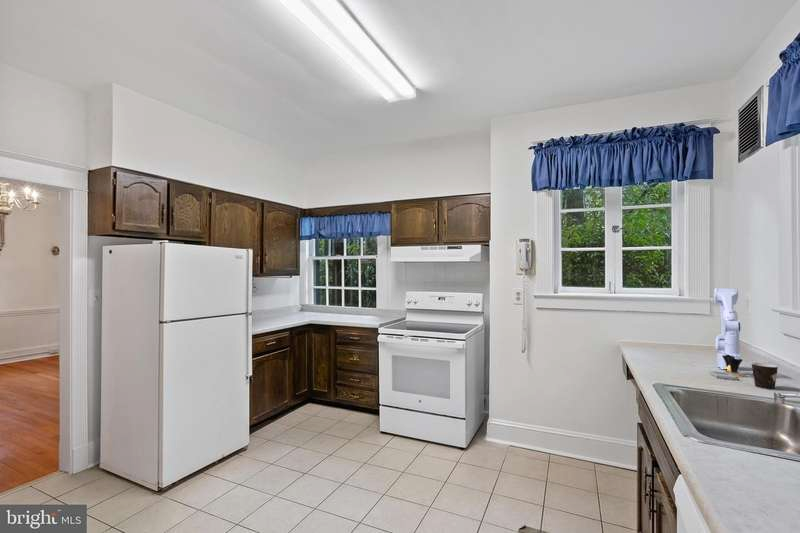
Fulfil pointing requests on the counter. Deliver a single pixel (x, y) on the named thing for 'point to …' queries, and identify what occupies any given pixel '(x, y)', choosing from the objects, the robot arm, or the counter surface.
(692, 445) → the counter surface
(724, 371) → the dish
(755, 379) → the coffee mug
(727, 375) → the tray
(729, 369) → the ball
